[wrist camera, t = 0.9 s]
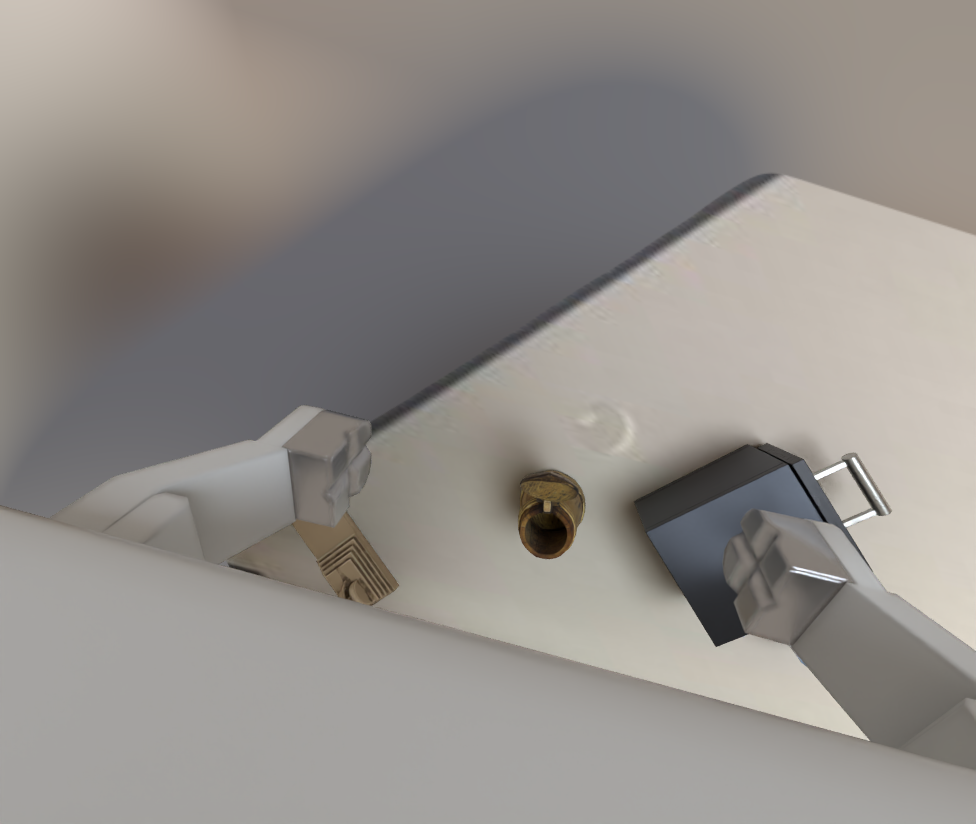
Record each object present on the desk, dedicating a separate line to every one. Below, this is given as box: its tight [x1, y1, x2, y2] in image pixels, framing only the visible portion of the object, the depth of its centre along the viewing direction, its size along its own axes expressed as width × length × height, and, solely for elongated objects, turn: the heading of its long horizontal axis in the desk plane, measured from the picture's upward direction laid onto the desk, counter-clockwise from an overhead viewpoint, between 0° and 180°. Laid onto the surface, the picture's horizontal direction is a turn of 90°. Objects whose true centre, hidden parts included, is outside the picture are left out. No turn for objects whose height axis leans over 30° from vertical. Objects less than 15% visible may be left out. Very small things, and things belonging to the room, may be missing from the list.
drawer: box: [758, 443, 892, 572], centre depth 49 cm, size 20×13×9 cm
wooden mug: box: [518, 470, 585, 559], centre depth 50 cm, size 9×14×18 cm, turn 175°
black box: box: [634, 445, 823, 647], centre depth 50 cm, size 16×15×11 cm
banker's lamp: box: [292, 512, 399, 606], centre depth 50 cm, size 16×21×35 cm
